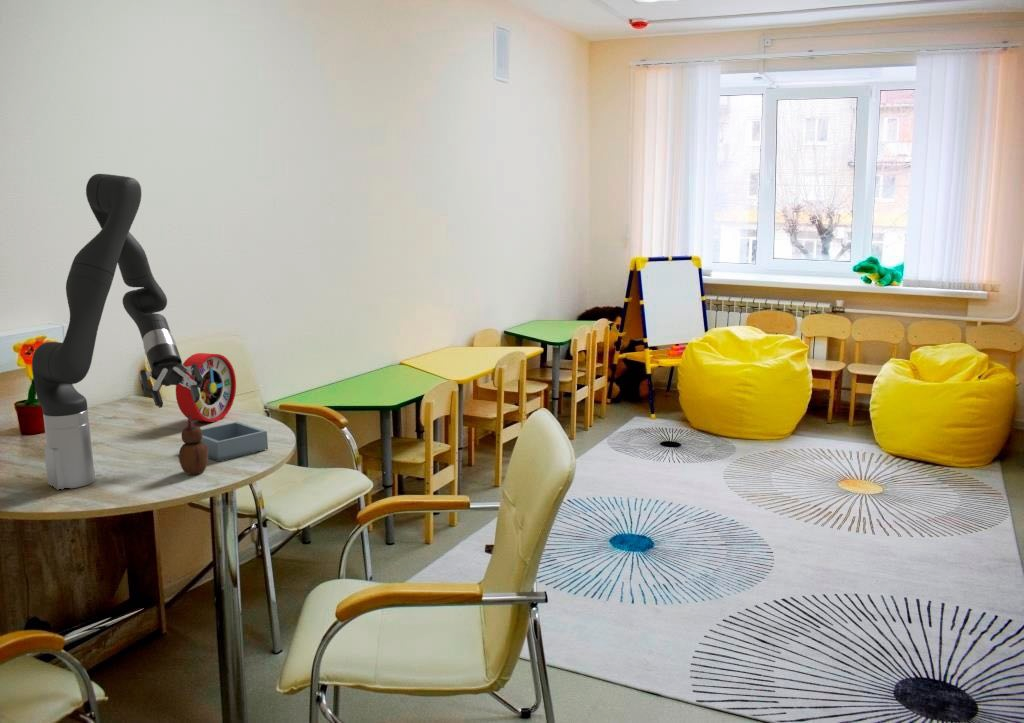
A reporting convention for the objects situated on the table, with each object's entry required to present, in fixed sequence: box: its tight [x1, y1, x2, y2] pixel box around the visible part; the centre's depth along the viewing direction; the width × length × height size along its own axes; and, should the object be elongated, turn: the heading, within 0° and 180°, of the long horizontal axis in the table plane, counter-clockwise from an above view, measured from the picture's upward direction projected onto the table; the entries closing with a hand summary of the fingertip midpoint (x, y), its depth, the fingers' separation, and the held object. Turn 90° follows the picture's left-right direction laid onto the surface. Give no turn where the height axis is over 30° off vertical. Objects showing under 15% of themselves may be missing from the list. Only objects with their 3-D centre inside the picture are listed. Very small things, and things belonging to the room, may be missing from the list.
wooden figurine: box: [178, 414, 209, 475], centre depth 213 cm, size 7×6×15 cm
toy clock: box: [175, 352, 237, 423], centre depth 262 cm, size 20×6×20 cm, turn 161°
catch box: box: [200, 421, 269, 462], centre depth 232 cm, size 14×15×5 cm
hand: (179, 403), depth 219 cm, fingers open, 8 cm apart
